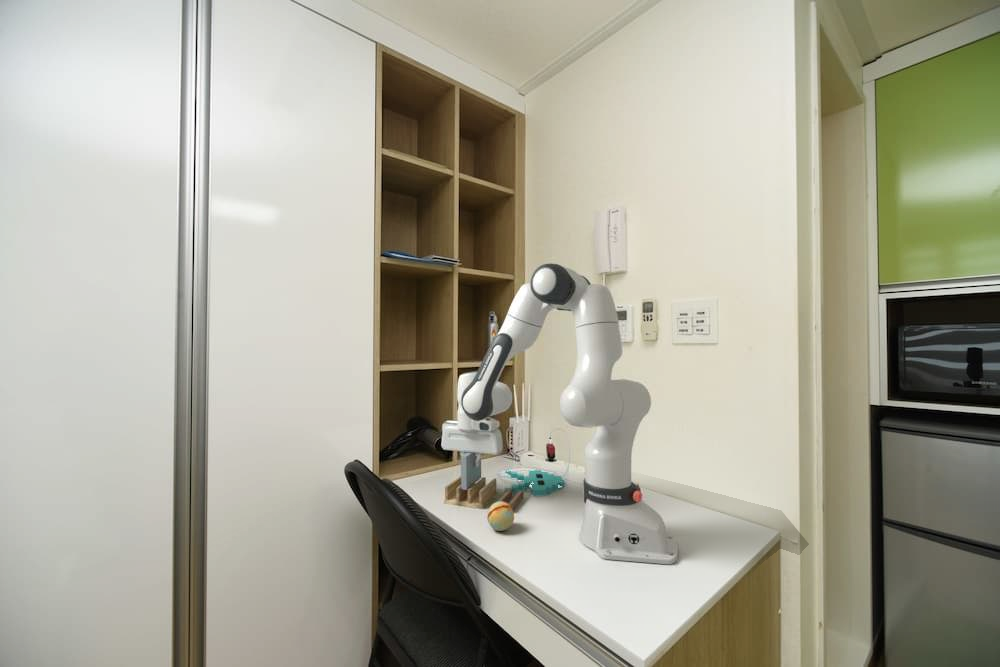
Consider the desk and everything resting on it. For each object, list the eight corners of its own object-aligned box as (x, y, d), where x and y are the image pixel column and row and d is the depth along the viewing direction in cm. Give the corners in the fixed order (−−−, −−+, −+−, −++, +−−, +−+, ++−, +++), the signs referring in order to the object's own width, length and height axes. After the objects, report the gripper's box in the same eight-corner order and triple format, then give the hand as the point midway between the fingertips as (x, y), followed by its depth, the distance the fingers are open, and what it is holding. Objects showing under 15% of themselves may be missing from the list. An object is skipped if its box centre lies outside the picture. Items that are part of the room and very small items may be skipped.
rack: (497, 494, 124) (497, 478, 124) (482, 509, 112) (482, 491, 113) (461, 489, 128) (461, 474, 129) (444, 503, 117) (444, 486, 117)
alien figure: (504, 497, 123) (567, 496, 123) (504, 490, 123) (567, 489, 123) (505, 476, 143) (558, 476, 143) (505, 470, 143) (558, 470, 143)
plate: (481, 477, 126) (481, 447, 126) (466, 489, 115) (466, 456, 116) (476, 477, 126) (476, 446, 127) (461, 489, 116) (460, 456, 116)
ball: (486, 524, 103) (486, 497, 103) (512, 522, 104) (511, 496, 104) (488, 537, 96) (488, 508, 96) (516, 535, 97) (515, 507, 97)
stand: (523, 498, 121) (523, 490, 121) (511, 513, 109) (510, 504, 109) (509, 496, 122) (509, 488, 122) (496, 511, 111) (496, 502, 111)
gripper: (437, 421, 122) (437, 465, 122) (496, 426, 115) (497, 472, 114) (447, 418, 128) (447, 459, 128) (504, 422, 121) (504, 466, 120)
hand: (471, 465), depth 121 cm, fingers closed on plate, 2 cm apart
